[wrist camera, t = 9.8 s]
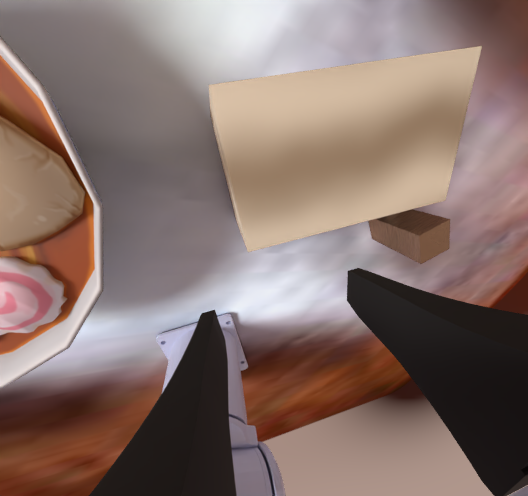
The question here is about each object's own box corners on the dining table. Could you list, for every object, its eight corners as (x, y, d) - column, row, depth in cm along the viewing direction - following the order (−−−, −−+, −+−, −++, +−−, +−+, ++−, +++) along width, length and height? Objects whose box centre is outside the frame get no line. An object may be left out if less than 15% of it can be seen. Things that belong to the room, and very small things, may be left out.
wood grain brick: (393, 227, 23) (449, 248, 17) (372, 238, 23) (421, 263, 17) (377, 104, 17) (452, 79, 12) (348, 119, 17) (410, 101, 11)
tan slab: (379, 185, 20) (453, 198, 14) (235, 219, 18) (248, 252, 12) (387, 86, 16) (493, 44, 10) (210, 115, 14) (208, 84, 8)
